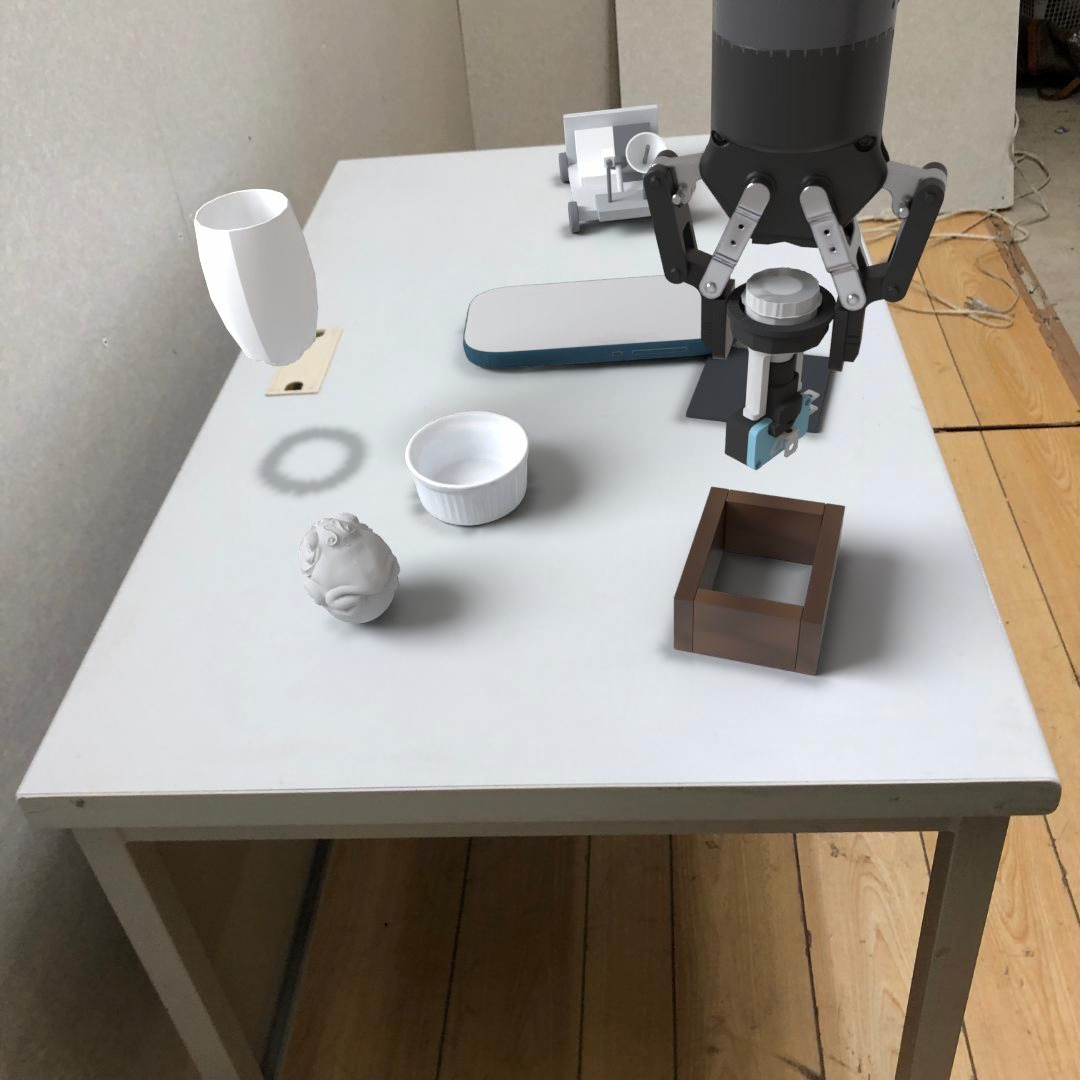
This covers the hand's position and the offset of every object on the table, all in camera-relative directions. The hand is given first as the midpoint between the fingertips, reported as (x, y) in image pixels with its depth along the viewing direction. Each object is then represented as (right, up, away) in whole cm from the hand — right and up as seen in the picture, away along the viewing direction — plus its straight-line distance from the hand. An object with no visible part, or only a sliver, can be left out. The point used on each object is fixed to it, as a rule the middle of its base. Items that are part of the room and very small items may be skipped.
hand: (779, 356), depth 56 cm
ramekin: (-17, -6, +23) cm, 29 cm away
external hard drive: (-7, +8, +38) cm, 39 cm away
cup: (-30, -4, +28) cm, 41 cm away
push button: (+1, -4, +4) cm, 6 cm away
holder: (+1, -14, +12) cm, 18 cm away
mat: (+5, +2, +29) cm, 30 cm away
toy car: (-4, +26, +56) cm, 62 cm away
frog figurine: (-24, -14, +15) cm, 32 cm away
